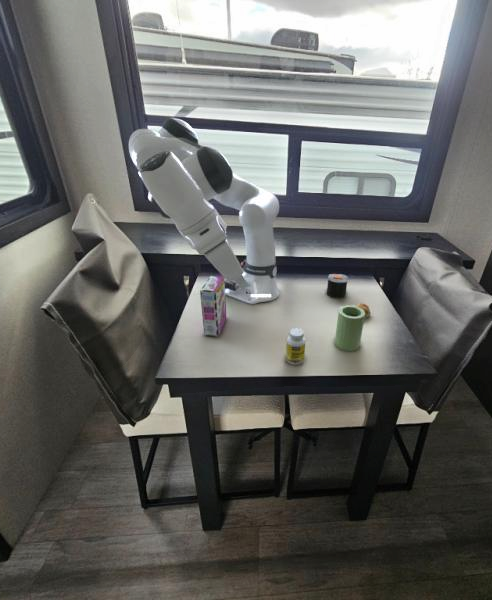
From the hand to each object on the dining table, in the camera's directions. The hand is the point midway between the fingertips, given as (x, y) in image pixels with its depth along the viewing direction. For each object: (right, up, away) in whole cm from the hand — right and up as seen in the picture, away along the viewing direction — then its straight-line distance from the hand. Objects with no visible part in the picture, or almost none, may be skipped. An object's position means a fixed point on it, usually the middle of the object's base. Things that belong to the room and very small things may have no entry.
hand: (241, 279), depth 74 cm
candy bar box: (-15, -14, +32) cm, 38 cm away
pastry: (+35, -11, +44) cm, 57 cm away
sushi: (+28, -2, +59) cm, 65 cm away
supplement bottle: (+12, -23, +19) cm, 32 cm away
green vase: (+29, -19, +28) cm, 44 cm away
